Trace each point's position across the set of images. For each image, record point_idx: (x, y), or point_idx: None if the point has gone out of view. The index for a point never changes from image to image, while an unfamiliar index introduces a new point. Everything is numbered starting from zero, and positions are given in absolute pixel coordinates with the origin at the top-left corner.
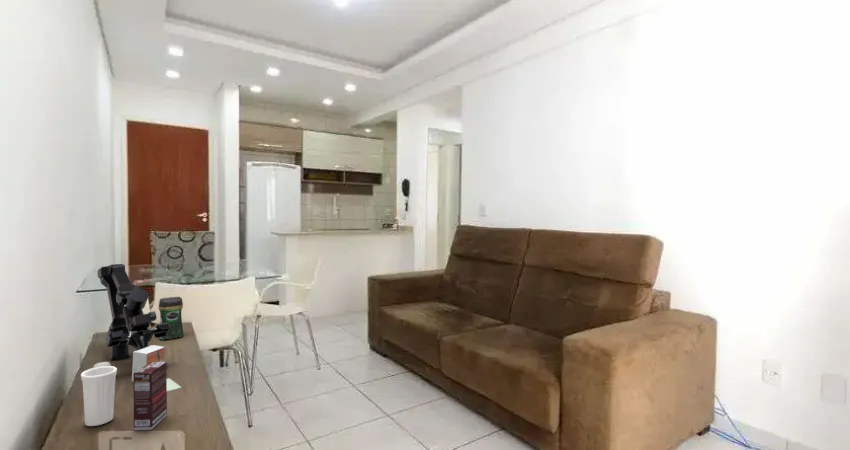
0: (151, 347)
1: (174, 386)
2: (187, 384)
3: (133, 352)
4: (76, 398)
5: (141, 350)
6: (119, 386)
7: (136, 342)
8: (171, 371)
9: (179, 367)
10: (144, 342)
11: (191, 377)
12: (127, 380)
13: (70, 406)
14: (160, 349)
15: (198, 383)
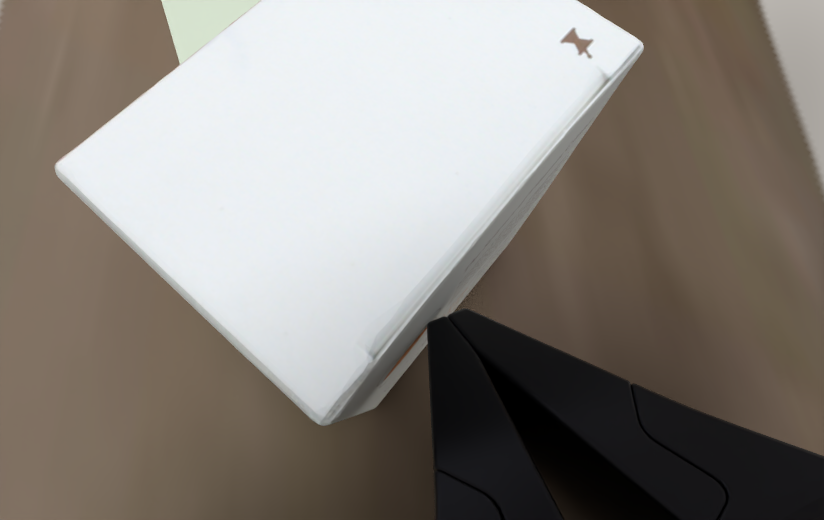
0: (331, 187)
1: (200, 19)
2: (110, 38)
3: (633, 47)
4: (778, 112)
5: (511, 62)
6: (574, 209)
7: (794, 453)
8: (184, 409)
9: (89, 517)
10: (544, 496)
11: (48, 164)
12: (544, 323)
13: (756, 12)
14: (164, 88)
15: (33, 22)
